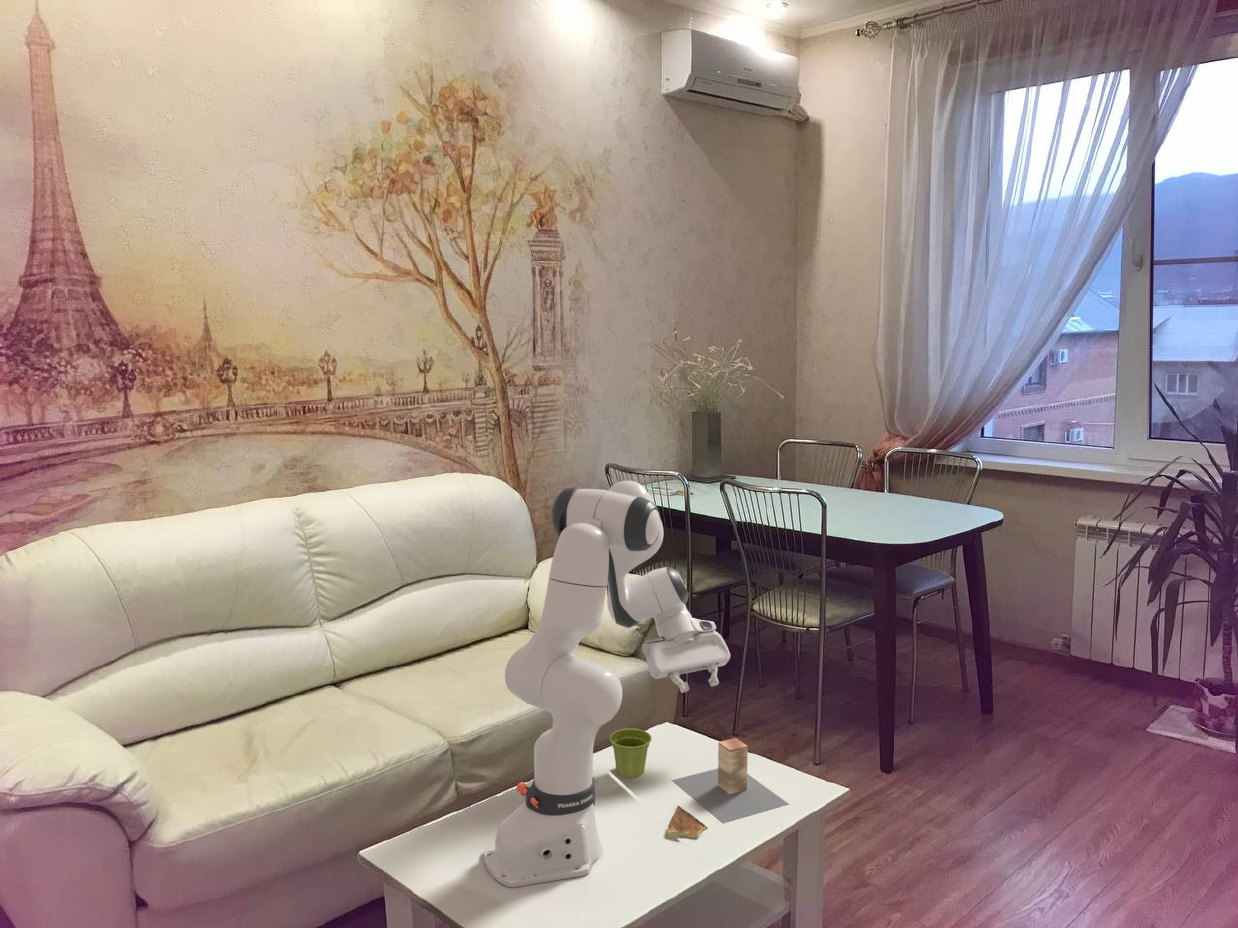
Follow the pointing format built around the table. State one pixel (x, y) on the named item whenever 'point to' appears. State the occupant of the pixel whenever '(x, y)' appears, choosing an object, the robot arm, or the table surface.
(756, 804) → the rubber mat
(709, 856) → the table surface
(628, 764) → the plant pot
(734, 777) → the birch block
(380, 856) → the table surface
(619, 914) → the table surface
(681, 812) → the shard
